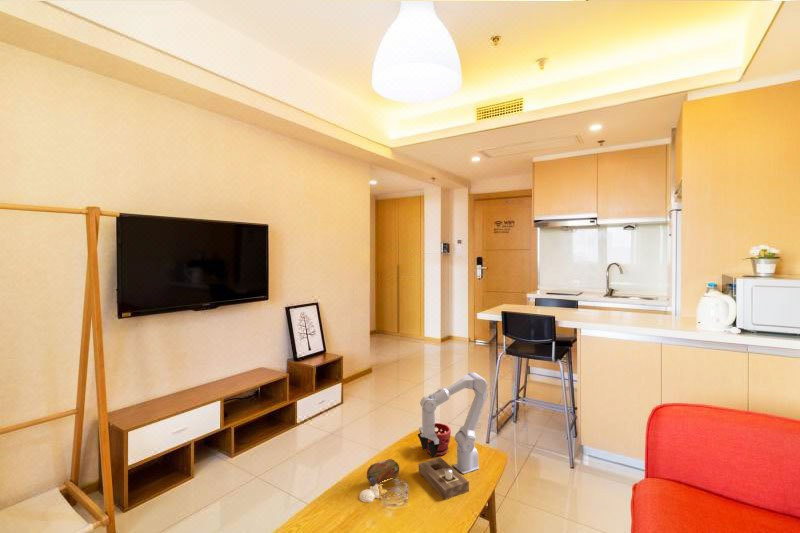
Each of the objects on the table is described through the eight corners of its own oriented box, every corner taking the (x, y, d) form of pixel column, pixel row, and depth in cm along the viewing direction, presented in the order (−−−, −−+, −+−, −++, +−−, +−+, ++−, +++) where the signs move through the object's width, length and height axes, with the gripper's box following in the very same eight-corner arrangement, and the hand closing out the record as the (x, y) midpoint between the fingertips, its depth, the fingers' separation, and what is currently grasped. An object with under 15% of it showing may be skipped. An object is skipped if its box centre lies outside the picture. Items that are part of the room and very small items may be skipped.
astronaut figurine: (390, 496, 155) (390, 489, 155) (363, 506, 149) (363, 498, 149) (381, 485, 162) (381, 478, 162) (355, 494, 157) (355, 487, 157)
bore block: (440, 465, 176) (440, 456, 176) (468, 491, 156) (468, 481, 156) (418, 472, 171) (418, 463, 171) (444, 499, 151) (444, 489, 151)
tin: (368, 487, 160) (368, 468, 160) (365, 483, 163) (365, 464, 163) (399, 477, 167) (399, 459, 167) (396, 474, 170) (396, 456, 170)
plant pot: (432, 460, 181) (431, 435, 181) (420, 447, 193) (420, 424, 193) (455, 454, 186) (455, 430, 186) (443, 442, 198) (442, 420, 198)
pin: (449, 483, 161) (449, 467, 161) (454, 487, 158) (453, 471, 158) (443, 485, 160) (443, 469, 160) (447, 489, 157) (447, 473, 157)
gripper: (413, 419, 174) (413, 448, 175) (429, 432, 161) (429, 463, 161) (426, 416, 177) (426, 444, 178) (442, 428, 164) (443, 458, 165)
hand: (429, 453), depth 170 cm, fingers open, 7 cm apart
